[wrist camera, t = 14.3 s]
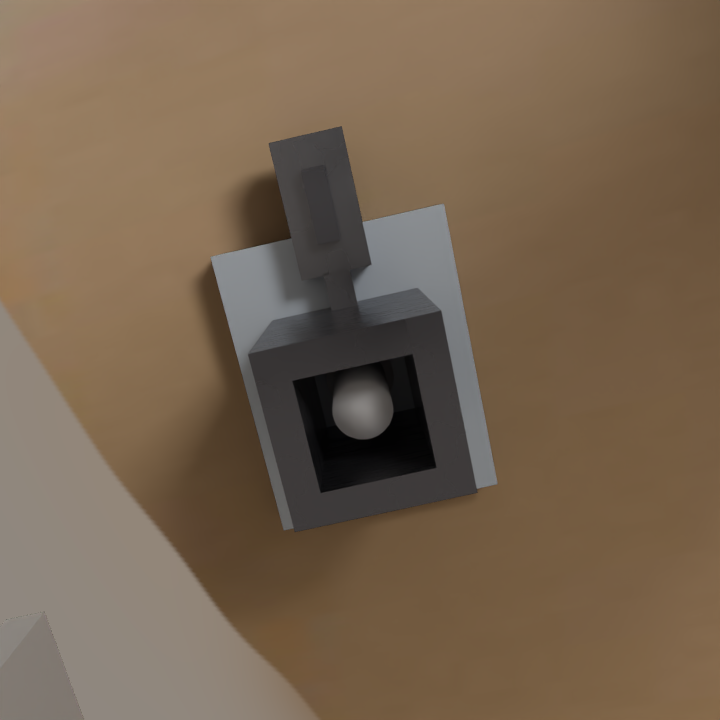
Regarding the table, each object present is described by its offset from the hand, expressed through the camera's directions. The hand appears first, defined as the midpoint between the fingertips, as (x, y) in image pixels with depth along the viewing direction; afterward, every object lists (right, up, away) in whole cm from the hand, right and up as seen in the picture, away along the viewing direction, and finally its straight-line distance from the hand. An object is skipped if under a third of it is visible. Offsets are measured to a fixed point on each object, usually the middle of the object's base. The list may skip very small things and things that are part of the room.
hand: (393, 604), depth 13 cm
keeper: (-1, +4, +21) cm, 21 cm away
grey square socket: (-1, +7, +19) cm, 20 cm away
